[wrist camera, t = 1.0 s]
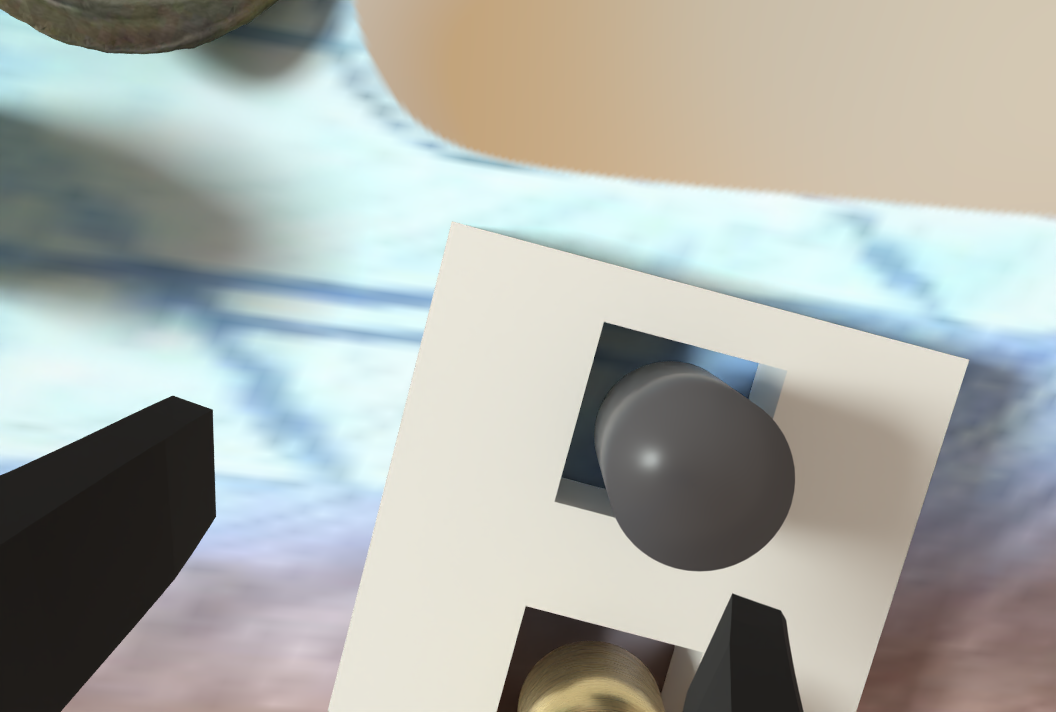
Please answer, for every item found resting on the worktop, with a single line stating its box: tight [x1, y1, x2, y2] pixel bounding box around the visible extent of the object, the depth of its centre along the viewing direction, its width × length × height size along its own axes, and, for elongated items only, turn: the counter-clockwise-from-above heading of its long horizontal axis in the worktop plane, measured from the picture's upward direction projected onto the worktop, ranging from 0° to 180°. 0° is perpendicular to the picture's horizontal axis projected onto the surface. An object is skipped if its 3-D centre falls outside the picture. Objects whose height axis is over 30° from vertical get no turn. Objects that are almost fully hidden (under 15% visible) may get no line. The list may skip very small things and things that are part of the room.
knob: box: [594, 361, 795, 572], centre depth 22 cm, size 4×4×5 cm
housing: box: [328, 222, 969, 712], centre depth 27 cm, size 24×14×3 cm, turn 165°
